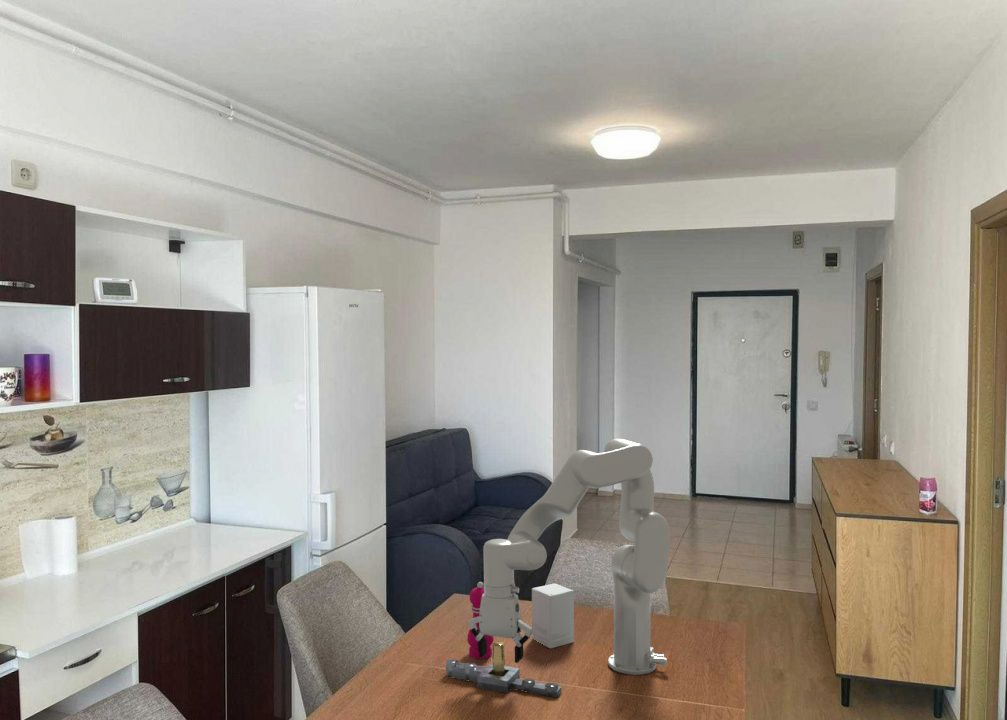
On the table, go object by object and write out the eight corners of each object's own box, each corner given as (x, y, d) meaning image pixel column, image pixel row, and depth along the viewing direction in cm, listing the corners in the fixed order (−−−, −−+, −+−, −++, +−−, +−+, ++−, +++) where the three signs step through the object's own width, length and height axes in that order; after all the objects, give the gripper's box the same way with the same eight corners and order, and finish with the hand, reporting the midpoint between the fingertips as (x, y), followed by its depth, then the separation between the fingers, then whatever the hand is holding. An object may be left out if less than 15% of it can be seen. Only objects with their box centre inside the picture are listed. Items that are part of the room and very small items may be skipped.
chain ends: (564, 688, 191) (564, 674, 191) (553, 702, 184) (553, 687, 184) (453, 668, 203) (453, 655, 203) (439, 680, 196) (439, 666, 196)
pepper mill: (497, 651, 215) (497, 579, 214) (488, 661, 208) (488, 587, 207) (473, 647, 217) (472, 576, 217) (463, 657, 210) (463, 584, 210)
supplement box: (575, 642, 221) (575, 590, 221) (550, 649, 216) (550, 596, 216) (555, 632, 228) (555, 582, 228) (530, 639, 223) (531, 587, 223)
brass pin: (506, 682, 195) (506, 643, 194) (501, 687, 192) (501, 647, 192) (495, 680, 196) (495, 641, 196) (490, 685, 193) (490, 645, 193)
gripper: (537, 589, 194) (538, 657, 194) (474, 582, 200) (475, 647, 201) (525, 598, 187) (527, 669, 187) (461, 590, 193) (462, 658, 194)
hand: (500, 657), depth 194 cm, fingers open, 9 cm apart
